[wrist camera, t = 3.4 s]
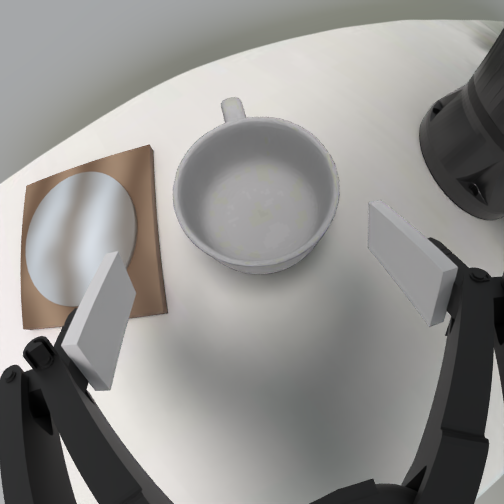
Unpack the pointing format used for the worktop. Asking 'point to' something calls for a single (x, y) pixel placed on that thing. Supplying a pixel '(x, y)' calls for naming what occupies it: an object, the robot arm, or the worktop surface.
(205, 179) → the teacup
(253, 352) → the worktop surface
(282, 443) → the worktop surface
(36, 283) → the walnut board
